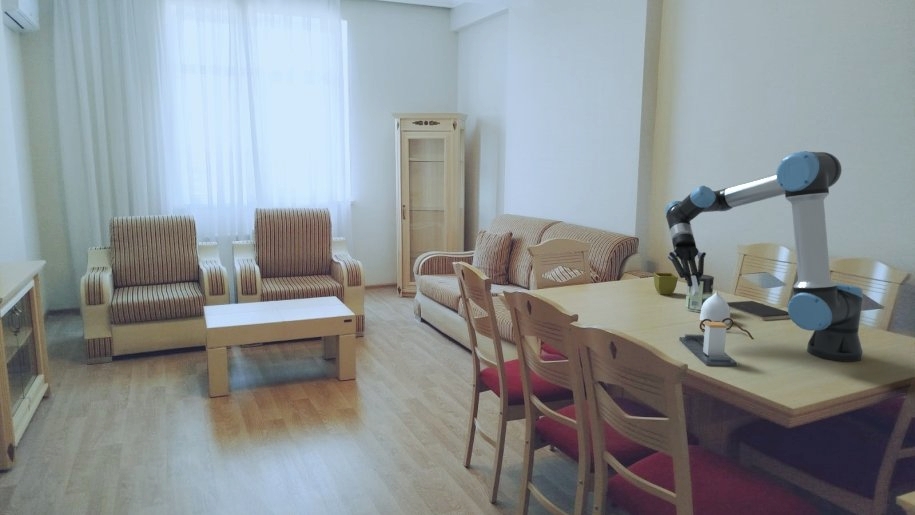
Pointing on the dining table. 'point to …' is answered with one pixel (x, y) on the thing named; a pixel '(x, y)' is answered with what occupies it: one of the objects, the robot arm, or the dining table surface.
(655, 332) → the dining table surface
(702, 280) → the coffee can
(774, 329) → the dining table surface
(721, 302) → the teardrop
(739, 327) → the glasses
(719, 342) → the fader knob
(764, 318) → the hardcover book
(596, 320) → the dining table surface
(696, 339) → the board
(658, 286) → the flower pot
